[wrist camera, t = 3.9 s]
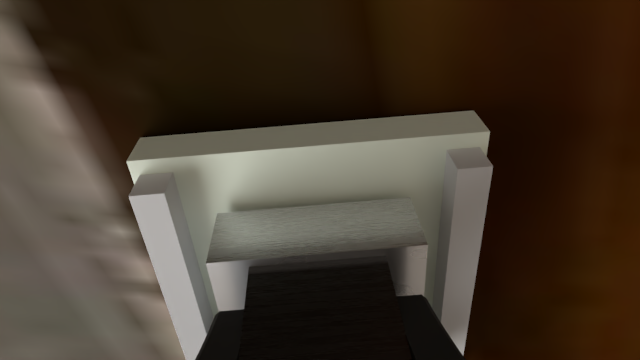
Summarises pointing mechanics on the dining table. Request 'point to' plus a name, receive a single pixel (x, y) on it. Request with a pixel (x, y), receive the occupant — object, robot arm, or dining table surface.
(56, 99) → the dining table surface
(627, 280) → the dining table surface
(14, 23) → the dining table surface
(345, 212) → the grey boxy piece
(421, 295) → the robot arm
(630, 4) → the dining table surface
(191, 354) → the bed
